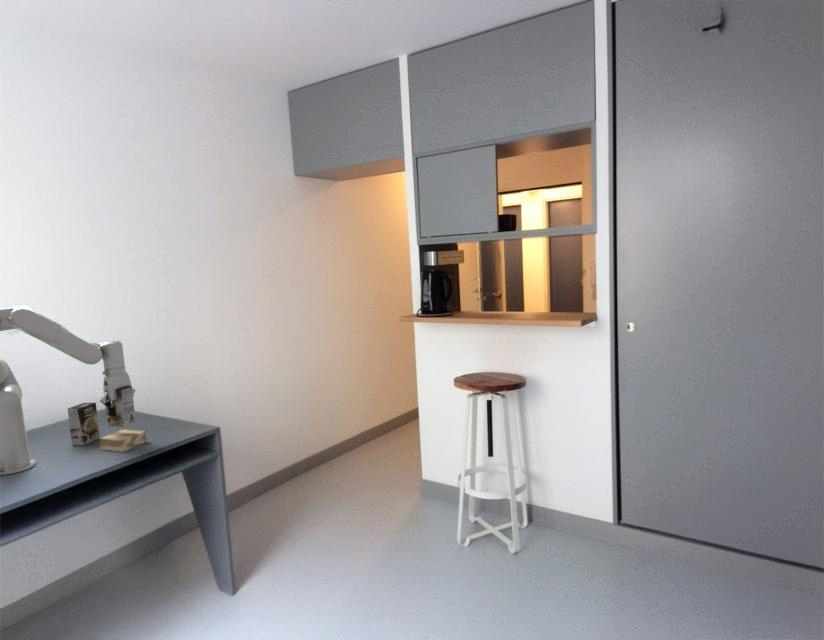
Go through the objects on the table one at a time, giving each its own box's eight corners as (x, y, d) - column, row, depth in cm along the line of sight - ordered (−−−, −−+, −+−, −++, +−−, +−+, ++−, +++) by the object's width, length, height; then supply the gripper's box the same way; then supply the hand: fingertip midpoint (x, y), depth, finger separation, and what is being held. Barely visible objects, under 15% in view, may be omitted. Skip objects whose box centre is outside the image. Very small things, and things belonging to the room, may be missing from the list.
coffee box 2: (106, 426, 218) (101, 388, 216) (119, 421, 225) (114, 384, 222) (125, 427, 216) (120, 389, 214) (137, 422, 222) (132, 385, 220)
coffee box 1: (84, 445, 223) (79, 408, 221) (71, 445, 224) (66, 408, 222) (101, 437, 232) (96, 402, 230) (88, 437, 233) (83, 401, 231)
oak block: (122, 453, 214) (120, 441, 213) (101, 450, 218) (99, 438, 217) (146, 442, 225) (145, 431, 224) (126, 439, 229) (124, 428, 229)
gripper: (102, 376, 208) (108, 420, 210) (139, 366, 224) (144, 407, 226) (89, 376, 211) (94, 419, 213) (126, 366, 226) (131, 406, 229)
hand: (120, 413), depth 220 cm, fingers closed on coffee box 2, 6 cm apart
